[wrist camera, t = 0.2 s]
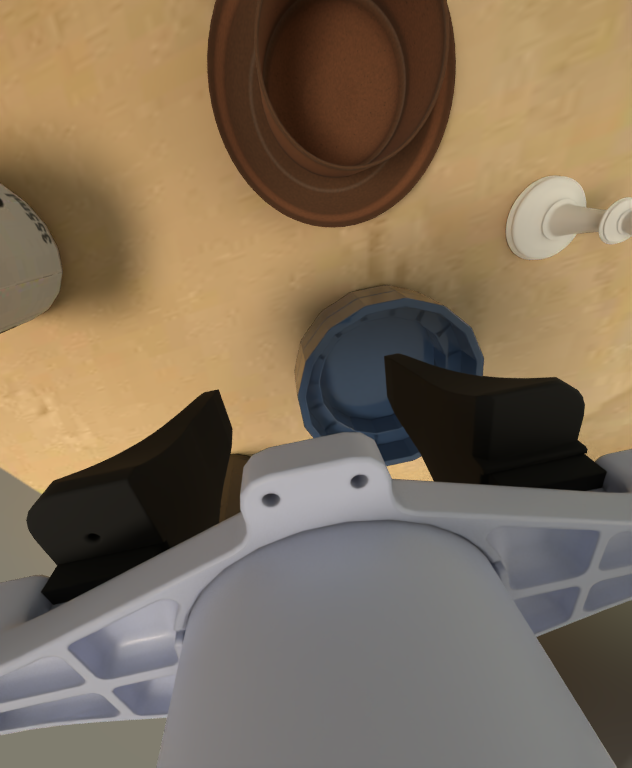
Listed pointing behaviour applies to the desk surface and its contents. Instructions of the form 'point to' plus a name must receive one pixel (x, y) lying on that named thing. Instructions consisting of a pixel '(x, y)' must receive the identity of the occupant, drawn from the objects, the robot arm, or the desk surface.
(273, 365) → the desk surface
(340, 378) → the bowl
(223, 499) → the cup
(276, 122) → the cup and saucer
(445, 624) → the robot arm
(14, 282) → the beverage can
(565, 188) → the chess piece
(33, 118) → the desk surface
